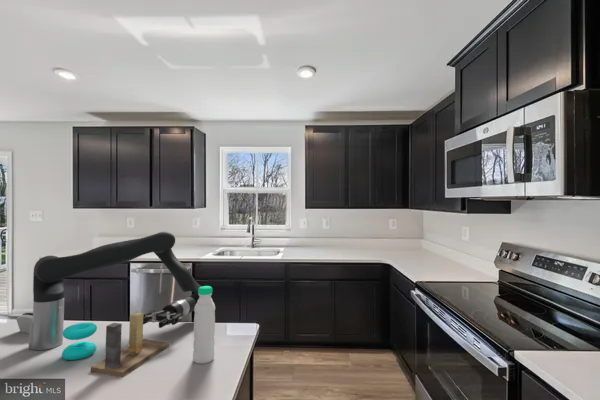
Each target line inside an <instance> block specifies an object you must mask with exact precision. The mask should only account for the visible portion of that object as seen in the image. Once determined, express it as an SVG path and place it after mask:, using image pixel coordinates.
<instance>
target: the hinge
mask: <svg viewBox="0 0 600 400" xmlns="http://www.w3.org/2000/svg"><path fill="white" fill-rule="evenodd" d="M32 321H33V310H30V311H27V312H24V313H22V314H20V315H18V317H16V323H17V326H18V329H19V332H20V333H21V332H22V333H26V332H28V333H27V334H29V326H30V322H32Z"/></svg>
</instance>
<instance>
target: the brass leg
mask: <svg viewBox="0 0 600 400" xmlns="http://www.w3.org/2000/svg"><path fill="white" fill-rule="evenodd" d="M143 315H144V313H143V312H137V311H136V312H134V313H132V314H129V333H128V334H129V335H128V339H129V340H128V346H129V353H133V354H137V353H139V352H140V351H142V344H143V339H144V335H143V334H144V325H143Z"/></svg>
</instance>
